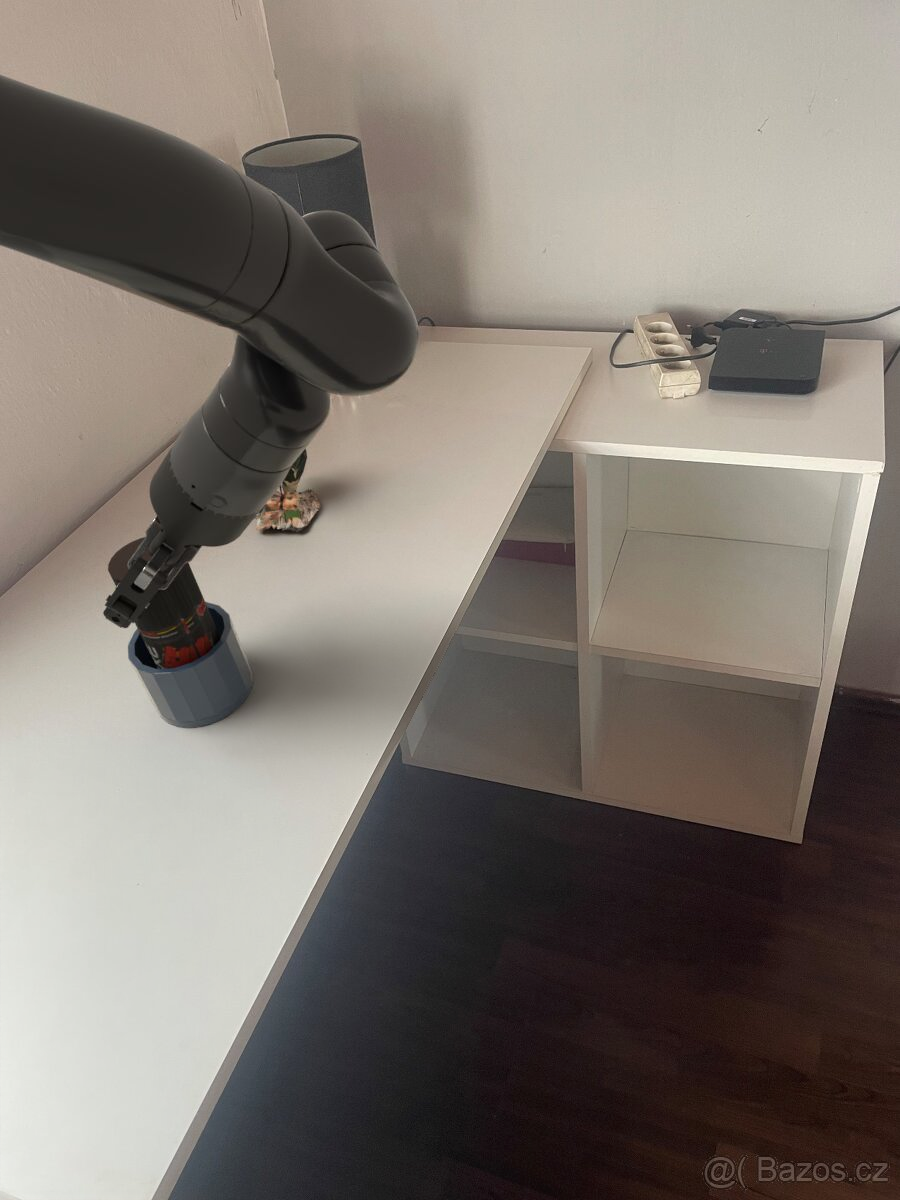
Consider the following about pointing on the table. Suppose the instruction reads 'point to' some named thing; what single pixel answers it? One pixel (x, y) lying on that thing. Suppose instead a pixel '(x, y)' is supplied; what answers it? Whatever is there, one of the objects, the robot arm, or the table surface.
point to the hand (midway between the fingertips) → (141, 584)
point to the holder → (197, 678)
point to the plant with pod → (289, 503)
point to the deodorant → (171, 614)
